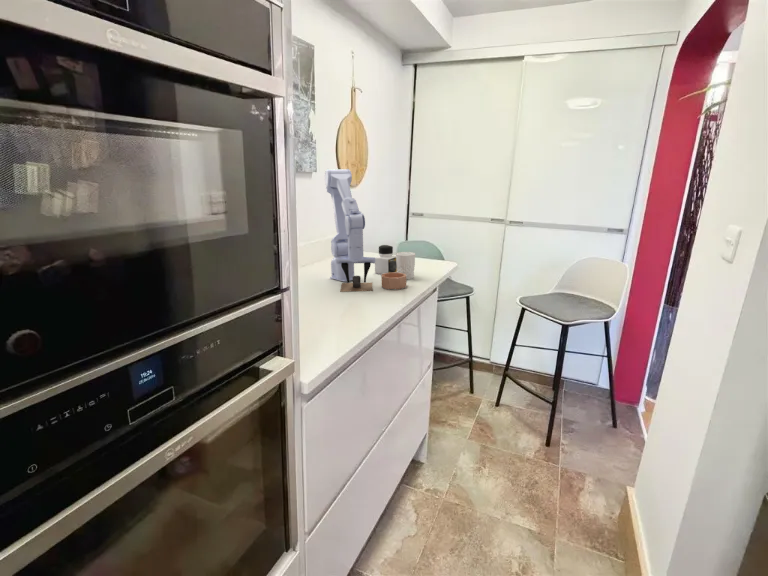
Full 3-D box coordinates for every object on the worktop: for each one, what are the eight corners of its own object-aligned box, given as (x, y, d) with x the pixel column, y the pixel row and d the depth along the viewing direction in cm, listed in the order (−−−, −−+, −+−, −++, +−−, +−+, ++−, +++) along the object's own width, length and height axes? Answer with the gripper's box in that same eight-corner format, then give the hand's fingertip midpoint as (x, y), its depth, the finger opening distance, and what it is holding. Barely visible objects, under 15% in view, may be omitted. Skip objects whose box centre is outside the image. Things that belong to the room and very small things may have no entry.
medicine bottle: (388, 275, 181) (388, 247, 177) (374, 273, 184) (374, 246, 181) (397, 272, 186) (397, 244, 183) (383, 270, 190) (383, 243, 187)
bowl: (376, 286, 163) (376, 275, 162) (392, 282, 169) (392, 271, 168) (394, 290, 157) (394, 279, 155) (410, 286, 163) (410, 274, 162)
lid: (340, 293, 157) (339, 280, 155) (341, 285, 168) (341, 273, 167) (372, 292, 157) (372, 280, 156) (372, 284, 169) (372, 272, 167)
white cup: (415, 275, 180) (415, 252, 177) (414, 279, 173) (414, 255, 170) (396, 275, 181) (396, 251, 178) (395, 279, 173) (395, 255, 171)
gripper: (335, 248, 154) (336, 285, 158) (375, 248, 155) (375, 284, 158) (336, 245, 161) (338, 280, 165) (374, 244, 162) (375, 279, 165)
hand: (356, 282), depth 162 cm, fingers open, 6 cm apart
